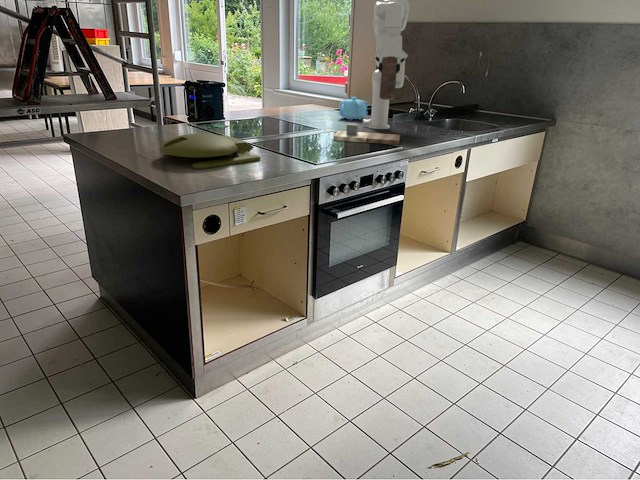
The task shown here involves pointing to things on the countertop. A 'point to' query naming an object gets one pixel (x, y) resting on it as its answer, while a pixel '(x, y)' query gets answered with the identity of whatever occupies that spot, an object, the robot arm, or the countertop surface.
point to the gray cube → (352, 129)
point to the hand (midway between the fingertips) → (389, 72)
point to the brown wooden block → (388, 78)
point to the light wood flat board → (368, 137)
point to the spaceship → (209, 149)
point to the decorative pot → (353, 109)
